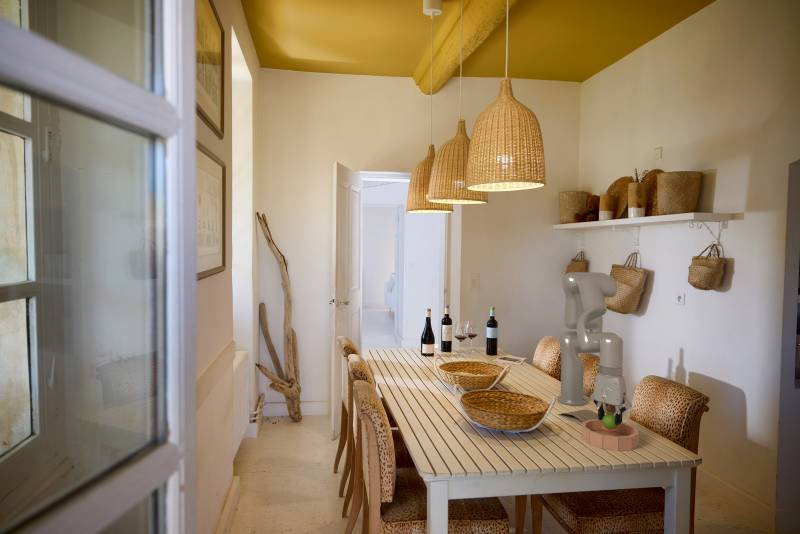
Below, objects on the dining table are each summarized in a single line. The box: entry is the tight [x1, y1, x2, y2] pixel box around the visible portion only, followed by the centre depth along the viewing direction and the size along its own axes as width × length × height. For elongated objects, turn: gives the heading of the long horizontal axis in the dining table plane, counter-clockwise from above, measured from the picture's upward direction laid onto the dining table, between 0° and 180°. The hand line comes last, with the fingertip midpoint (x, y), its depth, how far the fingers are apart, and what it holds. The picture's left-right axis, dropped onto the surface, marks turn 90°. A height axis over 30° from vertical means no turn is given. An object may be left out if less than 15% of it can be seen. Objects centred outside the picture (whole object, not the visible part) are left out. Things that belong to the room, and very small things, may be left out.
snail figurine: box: [602, 397, 618, 430], centre depth 177 cm, size 5×6×12 cm
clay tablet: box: [558, 408, 599, 423], centre depth 201 cm, size 16×11×3 cm
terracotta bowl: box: [581, 419, 640, 452], centre depth 177 cm, size 18×18×4 cm
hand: (609, 421), depth 177 cm, fingers closed on snail figurine, 5 cm apart
